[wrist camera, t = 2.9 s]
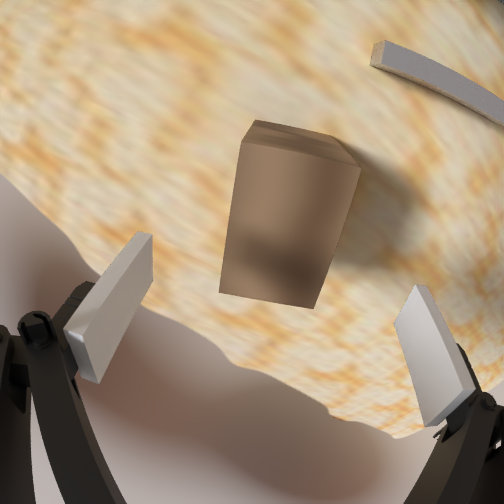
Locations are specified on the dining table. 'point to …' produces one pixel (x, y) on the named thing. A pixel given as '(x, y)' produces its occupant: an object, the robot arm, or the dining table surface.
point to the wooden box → (286, 214)
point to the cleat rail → (437, 79)
